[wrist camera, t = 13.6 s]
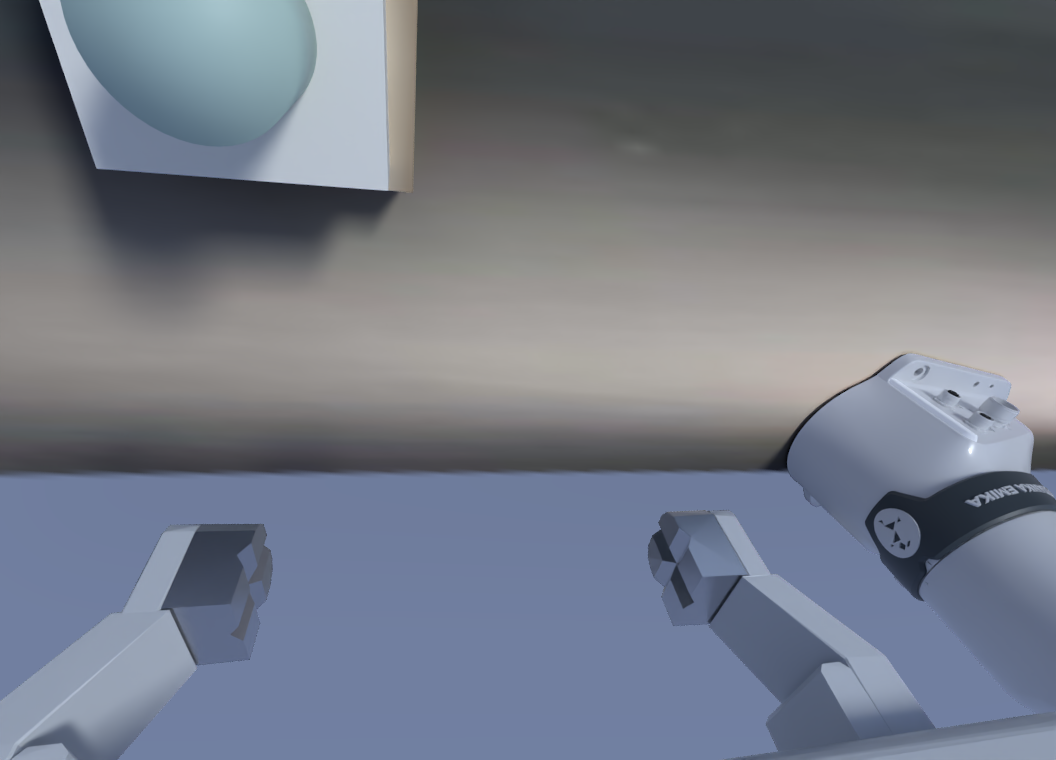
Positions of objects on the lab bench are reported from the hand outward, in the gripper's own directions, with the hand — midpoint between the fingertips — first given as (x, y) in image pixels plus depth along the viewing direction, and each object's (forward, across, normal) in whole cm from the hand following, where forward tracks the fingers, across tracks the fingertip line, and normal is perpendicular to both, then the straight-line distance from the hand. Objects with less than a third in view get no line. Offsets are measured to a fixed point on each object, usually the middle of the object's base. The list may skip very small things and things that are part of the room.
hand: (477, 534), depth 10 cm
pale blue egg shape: (+15, +8, -7) cm, 18 cm away
